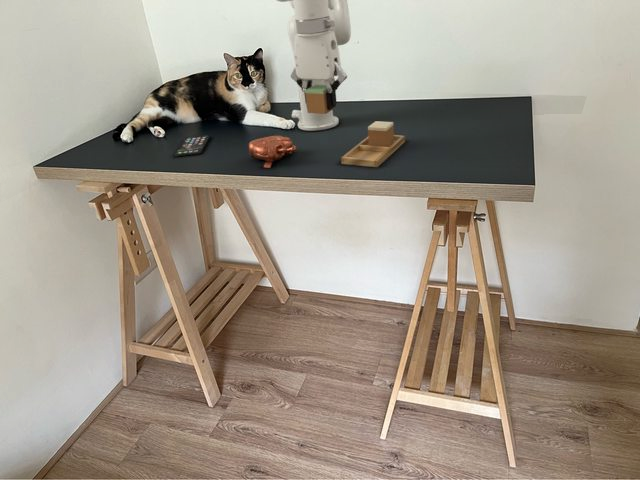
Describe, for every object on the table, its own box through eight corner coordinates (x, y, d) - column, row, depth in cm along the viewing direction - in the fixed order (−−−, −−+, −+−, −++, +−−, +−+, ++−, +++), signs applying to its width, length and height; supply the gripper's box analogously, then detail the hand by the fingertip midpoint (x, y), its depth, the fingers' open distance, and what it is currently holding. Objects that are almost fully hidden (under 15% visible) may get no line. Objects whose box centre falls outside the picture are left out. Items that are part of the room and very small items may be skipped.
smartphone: (174, 154, 138) (185, 137, 151) (174, 157, 138) (186, 139, 151) (200, 152, 138) (209, 135, 151) (200, 154, 138) (210, 137, 151)
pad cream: (368, 147, 128) (367, 127, 125) (376, 141, 131) (375, 121, 128) (386, 149, 125) (386, 128, 123) (394, 142, 129) (393, 122, 126)
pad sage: (307, 113, 118) (304, 89, 116) (317, 106, 122) (315, 84, 119) (325, 114, 116) (323, 90, 113) (335, 107, 120) (333, 85, 117)
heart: (235, 143, 124) (288, 146, 118) (259, 131, 133) (309, 134, 128) (238, 165, 126) (290, 170, 121) (261, 152, 136) (310, 156, 130)
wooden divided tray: (341, 163, 121) (340, 157, 120) (371, 139, 134) (371, 133, 134) (377, 167, 116) (377, 161, 116) (405, 141, 130) (405, 135, 129)
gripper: (354, 22, 108) (359, 104, 117) (290, 25, 116) (299, 101, 125) (339, 28, 103) (345, 114, 112) (272, 30, 111) (283, 110, 120)
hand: (321, 106), depth 119 cm, fingers closed on pad sage, 5 cm apart
